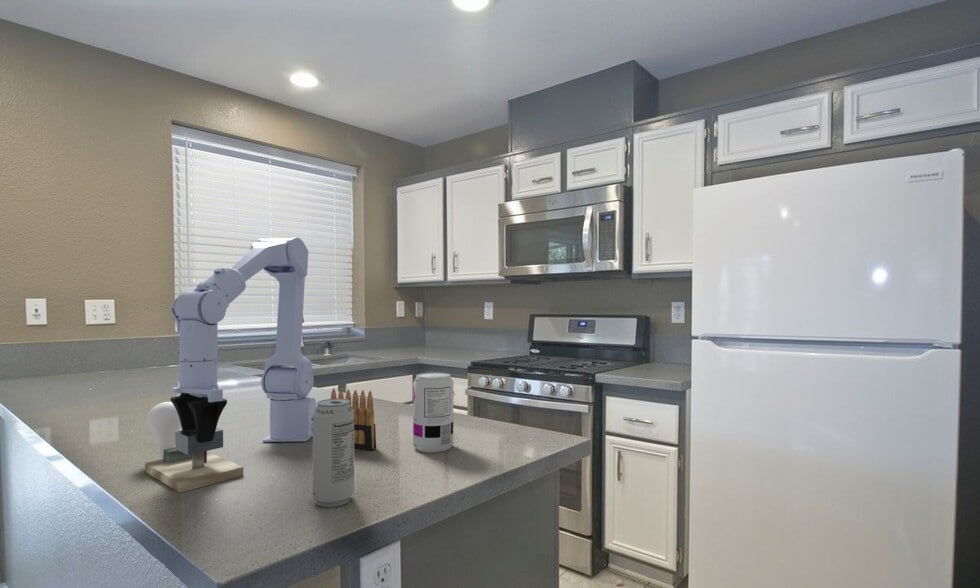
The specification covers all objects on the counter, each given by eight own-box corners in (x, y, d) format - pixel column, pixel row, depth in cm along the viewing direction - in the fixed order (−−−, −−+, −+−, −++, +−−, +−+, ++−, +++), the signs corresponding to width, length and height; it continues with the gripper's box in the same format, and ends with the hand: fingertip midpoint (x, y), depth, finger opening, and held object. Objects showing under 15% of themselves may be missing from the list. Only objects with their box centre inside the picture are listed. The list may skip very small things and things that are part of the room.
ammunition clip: (376, 448, 104) (376, 390, 104) (371, 451, 102) (371, 391, 102) (332, 444, 107) (332, 387, 107) (326, 446, 106) (327, 388, 106)
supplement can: (405, 451, 102) (405, 376, 102) (425, 440, 110) (425, 371, 110) (441, 455, 99) (441, 379, 99) (459, 444, 107) (459, 373, 107)
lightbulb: (166, 465, 93) (166, 405, 93) (138, 463, 94) (139, 404, 95) (192, 455, 99) (192, 399, 99) (165, 453, 100) (166, 398, 101)
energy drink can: (334, 490, 81) (334, 396, 81) (362, 497, 78) (362, 400, 78) (303, 503, 76) (304, 403, 76) (332, 511, 73) (332, 407, 73)
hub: (175, 448, 87) (175, 431, 87) (209, 441, 92) (209, 425, 92) (188, 455, 84) (188, 437, 84) (223, 447, 88) (223, 430, 88)
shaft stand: (144, 471, 90) (144, 445, 90) (204, 457, 98) (204, 434, 98) (179, 492, 80) (179, 464, 80) (243, 475, 88) (243, 449, 88)
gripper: (157, 359, 89) (156, 436, 89) (190, 365, 80) (189, 451, 80) (200, 355, 95) (199, 428, 95) (235, 361, 86) (235, 441, 86)
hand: (198, 438), depth 88 cm, fingers closed on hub, 6 cm apart
